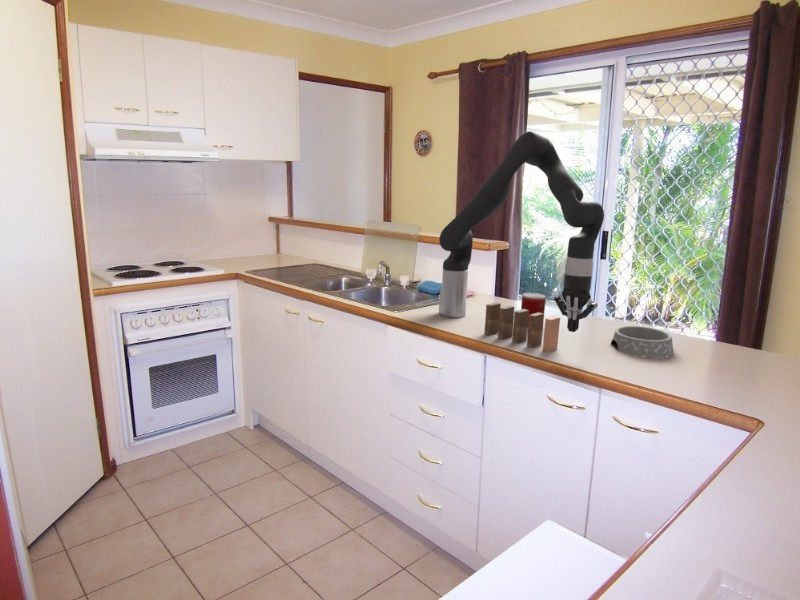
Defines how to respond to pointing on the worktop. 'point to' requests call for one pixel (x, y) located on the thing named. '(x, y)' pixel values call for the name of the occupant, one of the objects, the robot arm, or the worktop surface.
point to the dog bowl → (643, 341)
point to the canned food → (533, 303)
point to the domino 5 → (551, 333)
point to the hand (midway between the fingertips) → (572, 331)
